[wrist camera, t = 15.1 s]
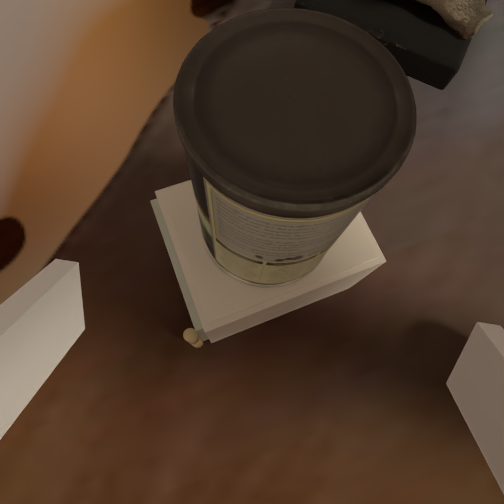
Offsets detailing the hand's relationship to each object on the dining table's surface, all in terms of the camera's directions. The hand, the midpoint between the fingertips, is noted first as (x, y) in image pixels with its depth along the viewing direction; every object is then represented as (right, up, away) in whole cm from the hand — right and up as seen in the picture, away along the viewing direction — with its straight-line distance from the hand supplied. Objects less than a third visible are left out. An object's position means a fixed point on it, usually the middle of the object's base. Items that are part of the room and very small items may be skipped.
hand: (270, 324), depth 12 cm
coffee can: (0, +4, +17) cm, 17 cm away
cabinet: (0, +2, +26) cm, 26 cm away
